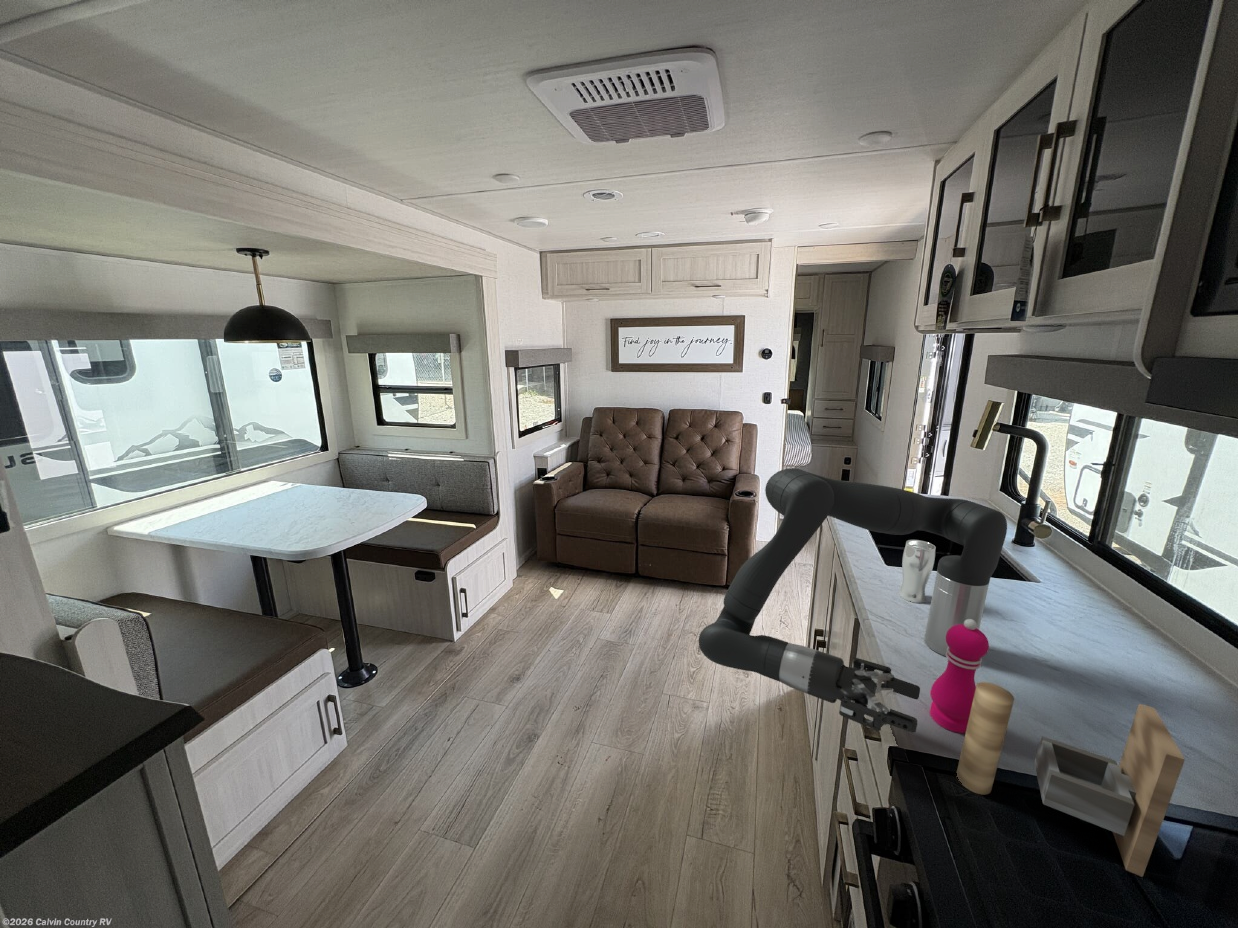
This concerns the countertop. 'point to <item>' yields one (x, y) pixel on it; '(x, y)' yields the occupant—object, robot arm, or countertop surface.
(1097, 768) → the cup bracket
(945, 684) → the pepper mill
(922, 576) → the beer glass
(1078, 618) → the countertop surface
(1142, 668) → the countertop surface
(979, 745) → the oak post
